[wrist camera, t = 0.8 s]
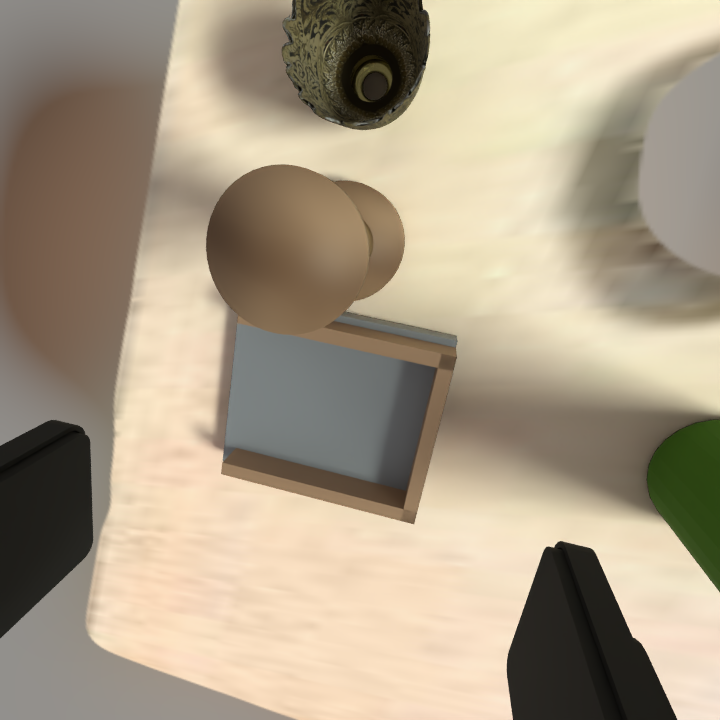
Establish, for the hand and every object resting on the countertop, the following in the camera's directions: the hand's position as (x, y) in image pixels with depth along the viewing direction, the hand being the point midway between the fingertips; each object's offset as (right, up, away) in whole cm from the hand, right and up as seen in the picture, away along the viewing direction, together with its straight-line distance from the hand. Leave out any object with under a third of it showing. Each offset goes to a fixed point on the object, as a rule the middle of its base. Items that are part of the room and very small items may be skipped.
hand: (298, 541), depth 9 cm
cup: (+2, +21, +21) cm, 30 cm away
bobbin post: (0, +12, +24) cm, 27 cm away
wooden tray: (-1, +1, +28) cm, 28 cm away
